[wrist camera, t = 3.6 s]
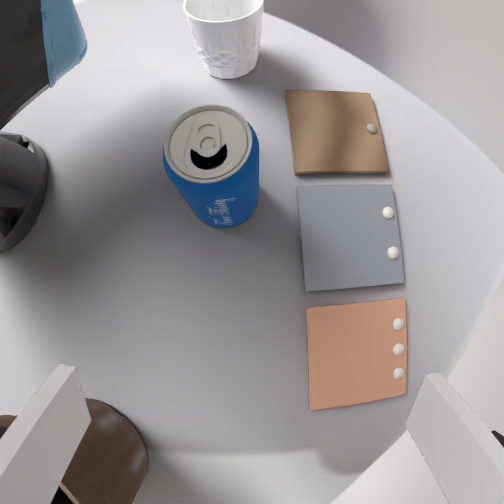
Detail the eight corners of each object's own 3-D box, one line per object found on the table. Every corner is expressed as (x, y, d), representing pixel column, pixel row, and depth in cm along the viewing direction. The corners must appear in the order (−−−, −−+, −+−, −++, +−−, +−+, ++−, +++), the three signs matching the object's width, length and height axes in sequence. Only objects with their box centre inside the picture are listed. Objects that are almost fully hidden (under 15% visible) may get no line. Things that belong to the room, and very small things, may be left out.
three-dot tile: (309, 407, 28) (311, 411, 27) (305, 307, 29) (307, 308, 28) (402, 392, 28) (406, 394, 27) (401, 297, 29) (406, 297, 28)
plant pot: (24, 391, 28) (-69, 422, 12) (124, 360, 29) (23, 405, 13) (84, 501, 26) (22, 567, 10) (191, 489, 27) (155, 590, 11)
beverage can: (195, 234, 30) (158, 196, 18) (190, 171, 31) (157, 108, 19) (262, 225, 30) (265, 181, 18) (254, 163, 31) (252, 94, 19)
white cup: (185, 58, 33) (169, 1, 23) (237, 31, 34) (233, -26, 24) (221, 94, 32) (210, 33, 23) (276, 64, 33) (280, 3, 23)
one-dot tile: (294, 174, 31) (295, 170, 30) (284, 94, 32) (285, 89, 31) (386, 173, 31) (389, 170, 30) (368, 97, 32) (370, 92, 31)
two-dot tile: (304, 291, 29) (306, 291, 28) (296, 188, 31) (297, 185, 30) (400, 282, 29) (405, 282, 28) (388, 187, 31) (392, 184, 30)
